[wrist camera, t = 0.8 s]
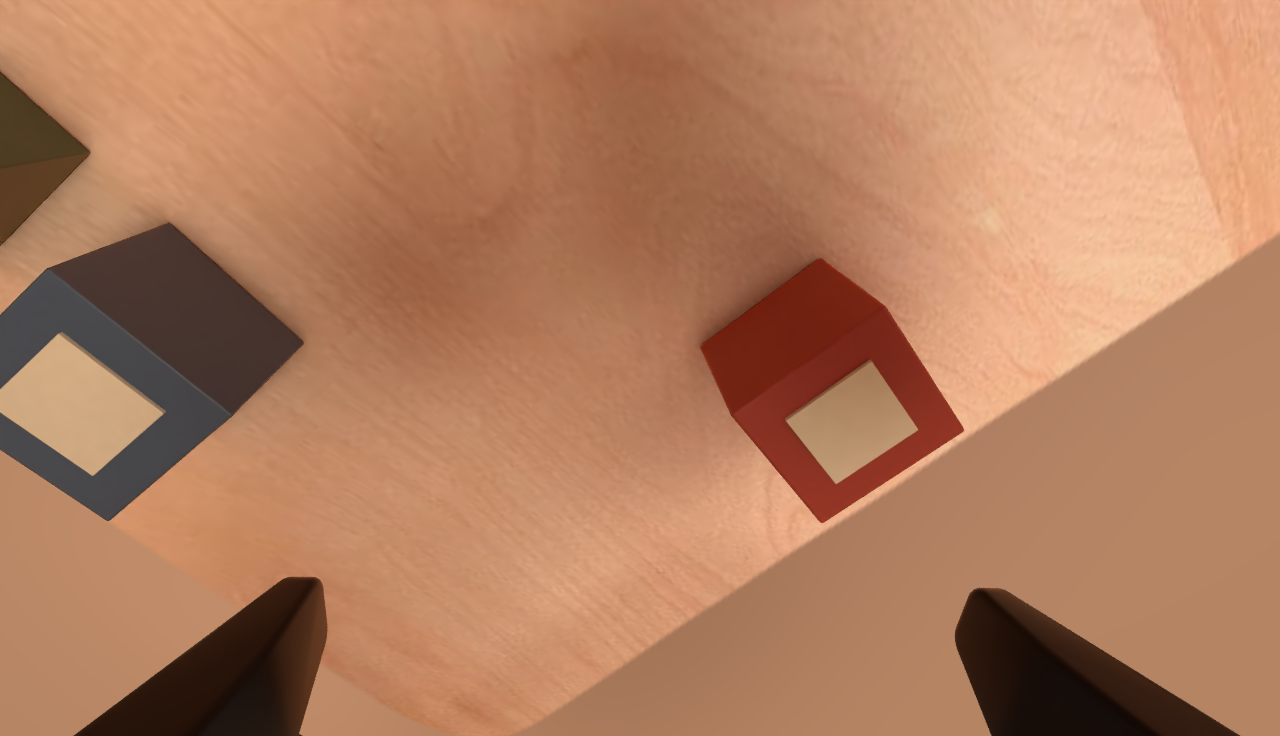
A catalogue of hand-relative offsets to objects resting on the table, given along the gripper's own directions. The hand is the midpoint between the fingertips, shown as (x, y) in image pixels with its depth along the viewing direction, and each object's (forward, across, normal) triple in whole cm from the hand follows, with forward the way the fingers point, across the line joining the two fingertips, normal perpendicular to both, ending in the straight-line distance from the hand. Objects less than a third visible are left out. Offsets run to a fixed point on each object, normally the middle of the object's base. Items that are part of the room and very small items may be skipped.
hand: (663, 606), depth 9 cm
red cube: (+14, -7, +2) cm, 16 cm away
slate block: (+14, +13, +2) cm, 19 cm away
